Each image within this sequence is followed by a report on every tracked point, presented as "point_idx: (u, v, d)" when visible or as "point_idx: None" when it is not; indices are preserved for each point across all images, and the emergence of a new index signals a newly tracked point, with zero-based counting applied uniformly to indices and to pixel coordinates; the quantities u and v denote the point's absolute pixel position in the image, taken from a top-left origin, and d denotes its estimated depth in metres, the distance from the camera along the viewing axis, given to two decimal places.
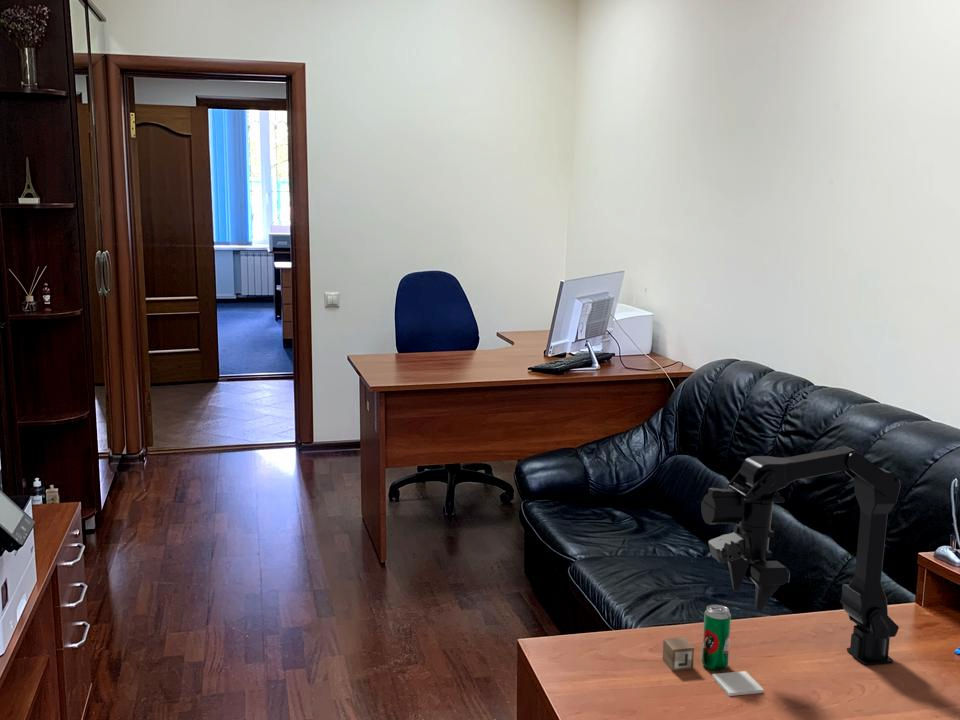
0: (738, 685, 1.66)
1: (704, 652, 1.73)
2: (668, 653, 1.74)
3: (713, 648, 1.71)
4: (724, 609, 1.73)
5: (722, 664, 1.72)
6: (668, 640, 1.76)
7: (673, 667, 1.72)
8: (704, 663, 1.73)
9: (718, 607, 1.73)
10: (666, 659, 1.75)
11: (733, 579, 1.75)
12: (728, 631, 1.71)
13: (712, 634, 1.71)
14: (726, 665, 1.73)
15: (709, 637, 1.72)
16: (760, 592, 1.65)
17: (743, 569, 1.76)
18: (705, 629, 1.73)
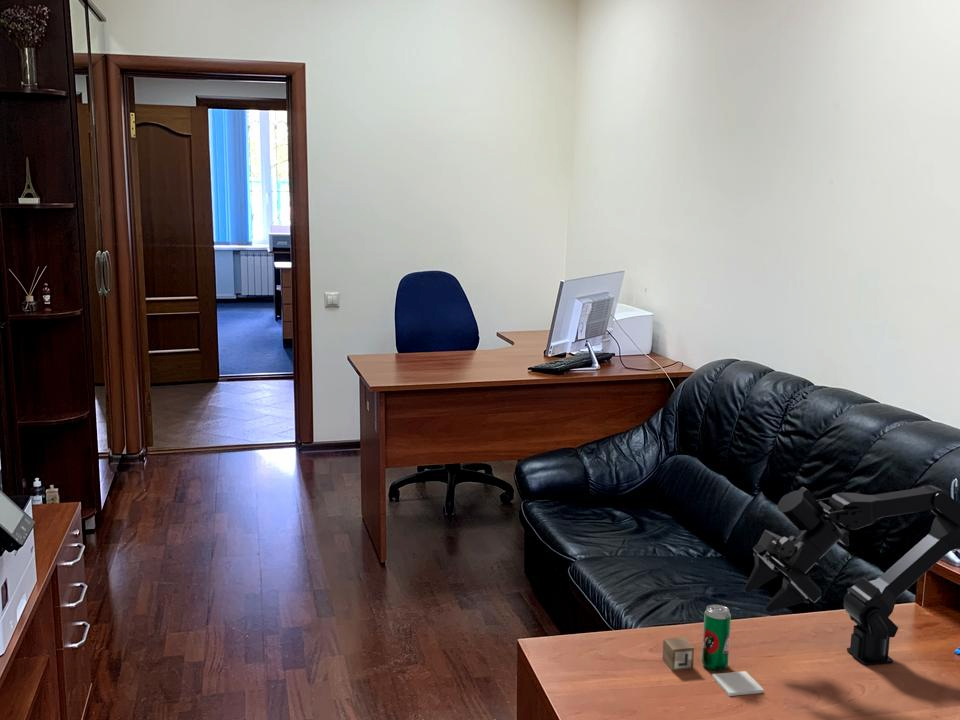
0: (738, 685, 1.66)
1: (704, 652, 1.73)
2: (668, 653, 1.74)
3: (713, 648, 1.71)
4: (724, 609, 1.73)
5: (722, 664, 1.72)
6: (668, 640, 1.76)
7: (673, 667, 1.72)
8: (704, 663, 1.73)
9: (718, 607, 1.73)
10: (666, 659, 1.75)
11: (751, 580, 1.78)
12: (728, 631, 1.71)
13: (712, 634, 1.71)
14: (726, 665, 1.73)
15: (709, 637, 1.72)
16: (782, 595, 1.67)
17: (763, 579, 1.78)
18: (705, 629, 1.73)
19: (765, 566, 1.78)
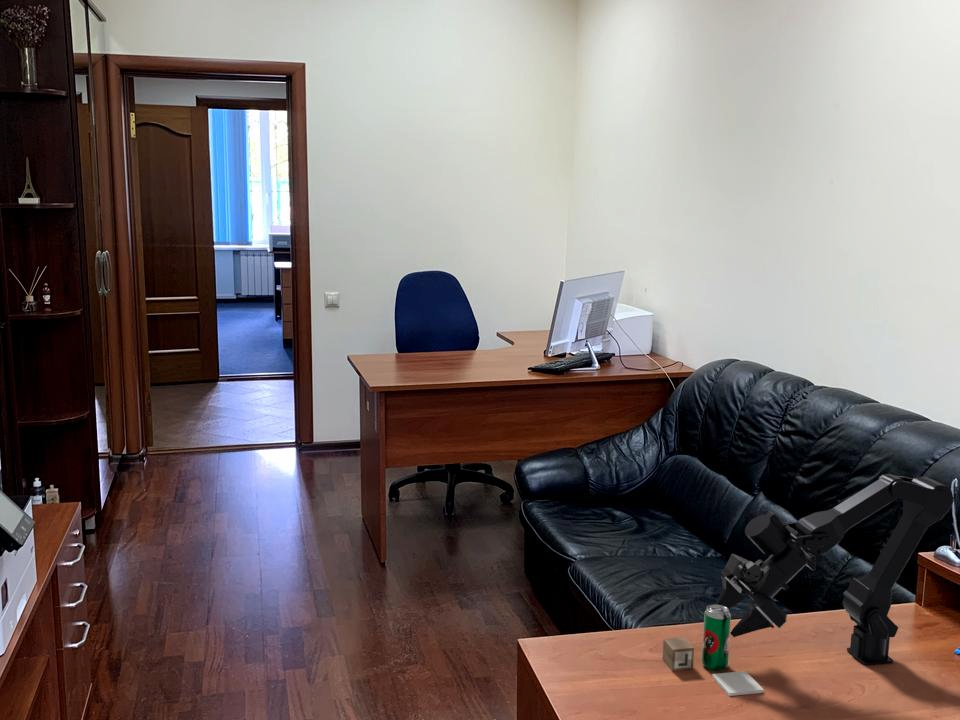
0: (738, 685, 1.66)
1: (704, 652, 1.73)
2: (668, 653, 1.74)
3: (713, 648, 1.71)
4: (724, 609, 1.73)
5: (722, 664, 1.72)
6: (668, 640, 1.76)
7: (673, 667, 1.72)
8: (704, 663, 1.73)
9: (718, 607, 1.73)
10: (666, 659, 1.75)
11: (718, 604, 1.78)
12: (728, 631, 1.71)
13: (712, 634, 1.71)
14: (726, 665, 1.73)
15: (709, 637, 1.72)
16: (747, 620, 1.67)
17: (731, 603, 1.78)
18: (705, 629, 1.73)
19: (733, 589, 1.78)
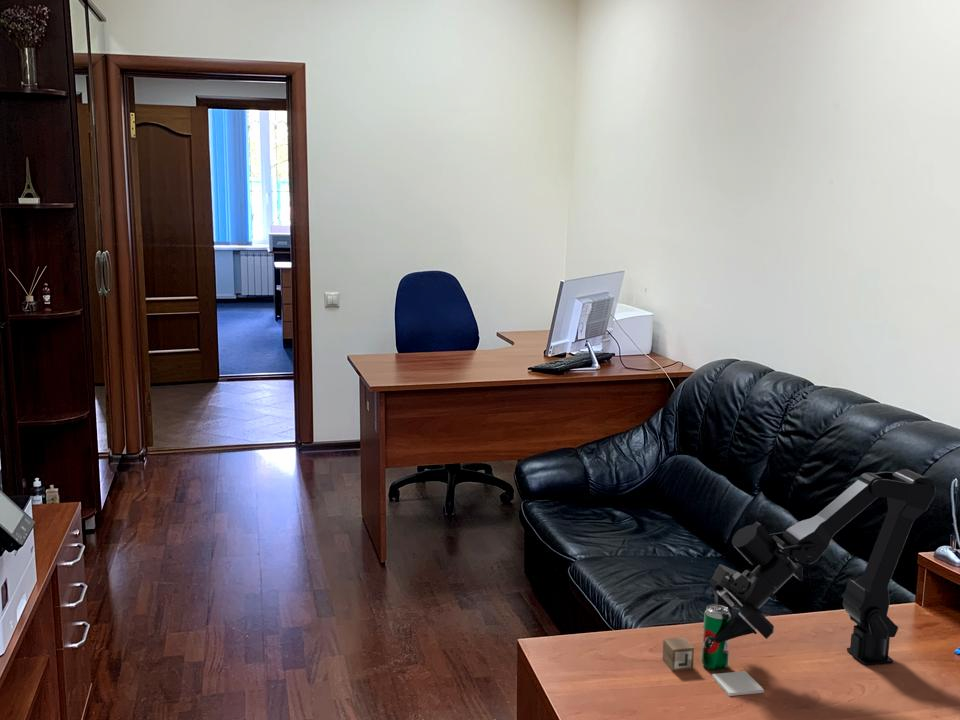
0: (738, 685, 1.66)
1: (704, 652, 1.73)
2: (668, 653, 1.74)
3: (713, 648, 1.71)
4: (724, 609, 1.73)
5: (722, 664, 1.72)
6: (668, 640, 1.76)
7: (673, 667, 1.72)
8: (704, 663, 1.73)
9: (718, 607, 1.73)
10: (666, 659, 1.75)
11: None
12: None
13: (712, 634, 1.71)
14: (726, 665, 1.73)
15: (709, 637, 1.72)
16: (730, 627, 1.69)
17: None
18: (705, 629, 1.73)
19: (725, 604, 1.76)
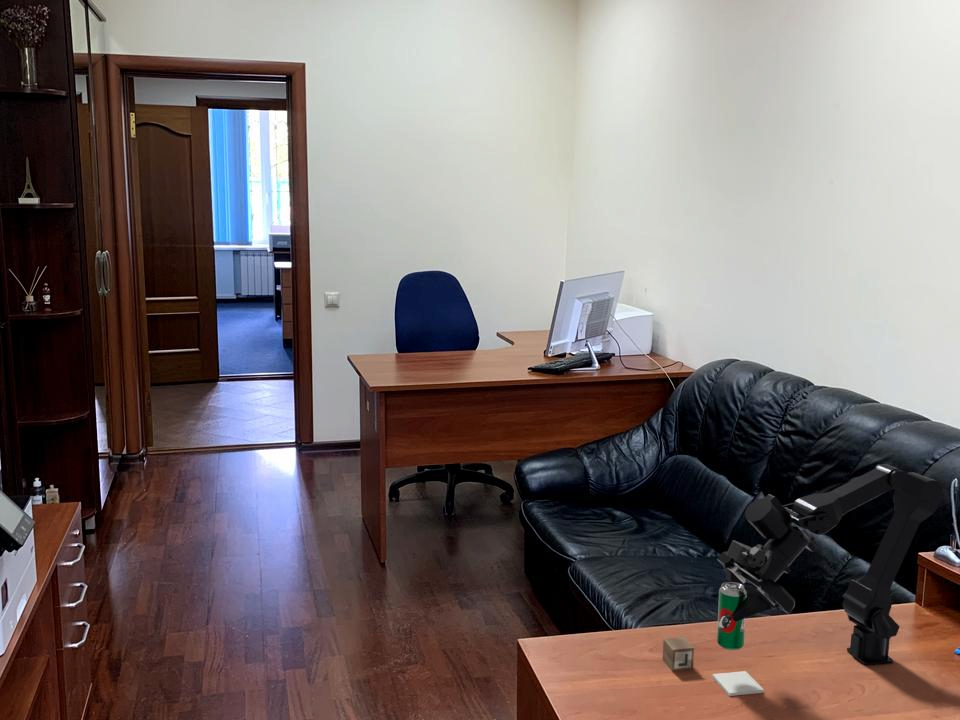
0: (738, 685, 1.66)
1: (720, 632, 1.68)
2: (668, 653, 1.74)
3: (731, 627, 1.66)
4: (739, 586, 1.68)
5: (739, 643, 1.67)
6: (668, 640, 1.76)
7: (673, 667, 1.72)
8: (720, 643, 1.68)
9: (732, 584, 1.68)
10: (666, 659, 1.75)
11: None
12: None
13: (730, 613, 1.66)
14: (743, 643, 1.68)
15: (726, 616, 1.66)
16: (749, 604, 1.64)
17: None
18: (721, 608, 1.67)
19: (737, 581, 1.71)
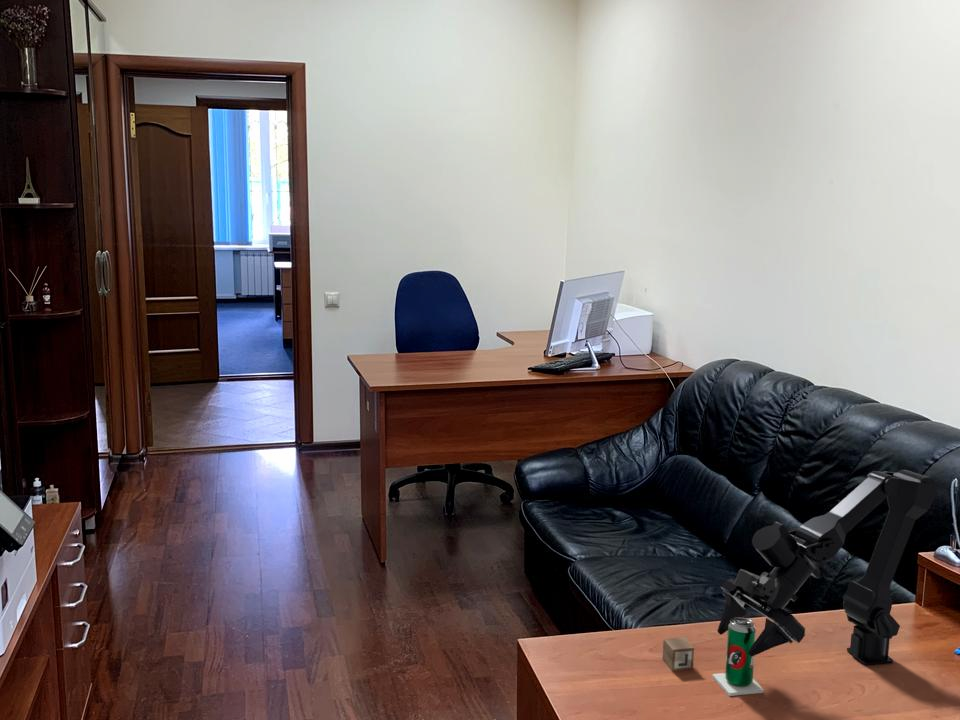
0: None
1: (730, 668, 1.66)
2: (668, 653, 1.74)
3: (741, 663, 1.64)
4: (748, 621, 1.66)
5: (749, 679, 1.65)
6: (668, 640, 1.76)
7: (673, 667, 1.72)
8: (730, 680, 1.66)
9: (741, 620, 1.67)
10: (666, 659, 1.75)
11: (724, 621, 1.70)
12: None
13: (740, 649, 1.64)
14: (752, 679, 1.66)
15: (736, 652, 1.64)
16: (765, 638, 1.60)
17: None
18: (730, 644, 1.65)
19: (736, 605, 1.71)
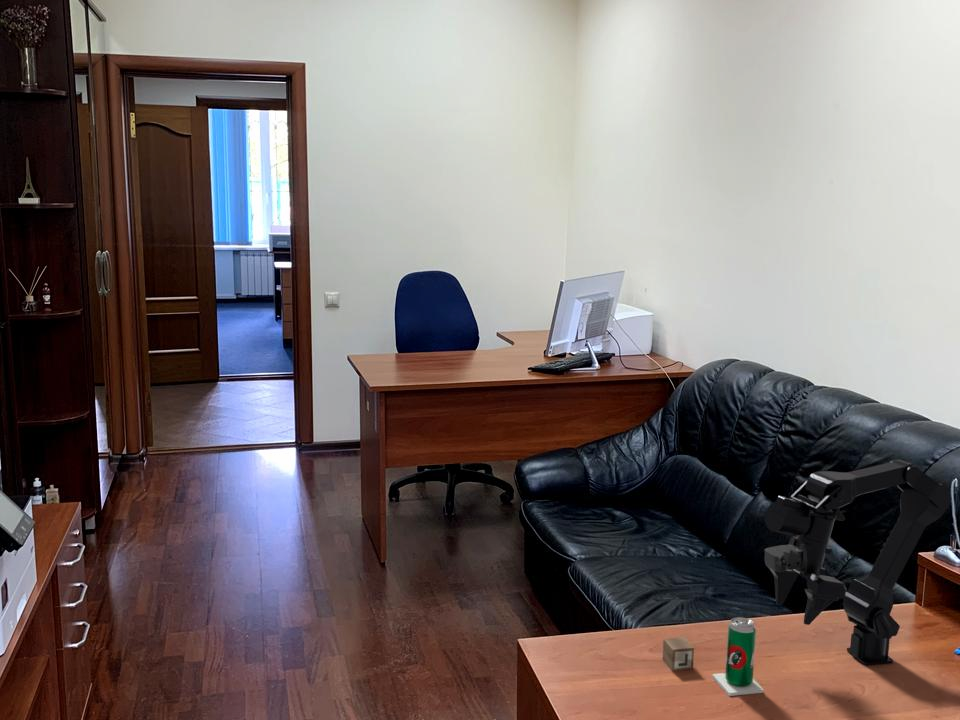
0: None
1: (730, 668, 1.66)
2: (668, 653, 1.74)
3: (741, 664, 1.64)
4: (748, 621, 1.66)
5: (749, 680, 1.65)
6: (668, 640, 1.76)
7: (673, 667, 1.72)
8: (730, 680, 1.66)
9: (741, 620, 1.66)
10: (666, 659, 1.75)
11: (778, 593, 1.75)
12: (754, 644, 1.65)
13: (740, 649, 1.64)
14: (752, 680, 1.66)
15: (736, 652, 1.64)
16: (812, 606, 1.65)
17: (789, 585, 1.75)
18: (730, 645, 1.65)
19: (783, 573, 1.75)
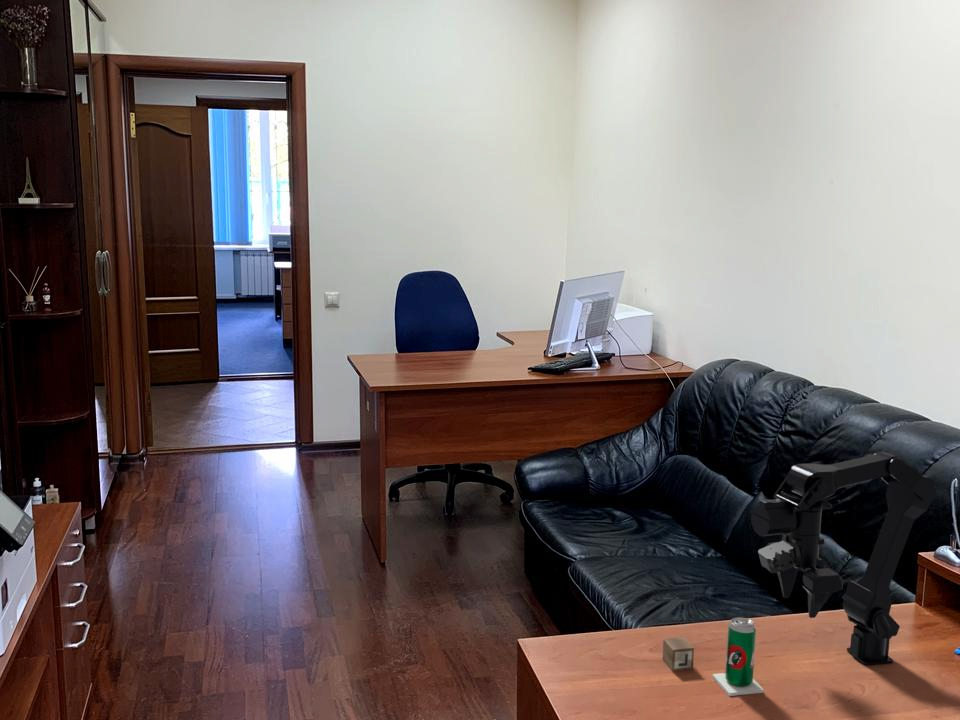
0: None
1: (730, 668, 1.66)
2: (668, 653, 1.74)
3: (741, 664, 1.64)
4: (748, 621, 1.66)
5: (749, 680, 1.65)
6: (668, 640, 1.76)
7: (673, 667, 1.72)
8: (730, 680, 1.66)
9: (741, 620, 1.66)
10: (666, 659, 1.75)
11: (783, 587, 1.75)
12: (754, 644, 1.65)
13: (740, 649, 1.64)
14: (752, 680, 1.66)
15: (736, 652, 1.64)
16: (813, 600, 1.65)
17: (792, 576, 1.76)
18: (730, 644, 1.65)
19: None
